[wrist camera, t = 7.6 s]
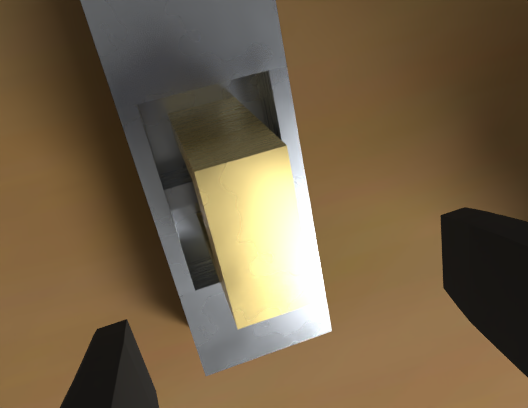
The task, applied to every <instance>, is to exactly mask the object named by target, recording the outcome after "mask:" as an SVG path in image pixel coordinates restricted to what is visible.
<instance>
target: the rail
mask: <svg viewBox="0 0 528 408" xmlns="http://www.w3.org/2000/svg"><path fill="white" fill-rule="evenodd" d="M80 1H81V4H82V7H83V10H84V13H85V16H86V19H87V22H88V25H89V28H90V31H91V34H92V37H93V40H94V43H95V46H96V49H97V52H98V55H99V58H100V61H101V64H102V67H103V70H104V73H105V76H106V79H107V82H108V85H109V88H110V91H111V94H112V97H113V100H114V103H115V106H116V109H117V112H118V115H119V118H120V121H121V124H122V127H123V130H124V133H125V136H126V139H127V142H128V145H129V148H130V151H131V154H132V157H133V160H134V163H135V166H136V169H137V172H138V174H139V177H140V180H141V183H142V186H143V189H144V192H145V195H146V198H147V201H148V204H149V207H150V210H151V213H152V216H153V219H154V222H155V225H156V228H157V231H158V234H159V237H160V240H161V243H162V246H163V249H164V252H165V255H166V258H167V261H168V264H169V267H170V270H171V273H172V276H173V279H174V282H175V285H176V288H177V291H178V294H179V297H180V300H181V303H182V306H183V309H184V312H185V315H186V318H187V321H188V324H189V327H190V330H191V333H192V336H193V339H194V342H195V345H196V348H197V351H198V354H199V357H200V360H201V363H202V366H203V369H204V372H205V375H206V376H208V375H211V374H213V373H216V372H219V371H222V370H225V369H227V368H230V367H233V366H236V365H238V364H241V363H244V362H247V361H250V360H252V359H255V358H258V357H261V356H264V355H266V354H269V353H272V352H275V351H277V350H280V349H283V348H286V347H289V346H291V345H294V344H297V343H300V342H303V341H305V340H308V339H311V338H314V337H316V336H319V335H322V334H325V333H328V332H330V331H332V330H331V324H330V318H329V312H328V306H327V300H326V294H325V288H324V283H323V277H322V271H321V265H320V259H319V253H318V247H317V241H316V235H315V230H314V224H313V218H312V212H311V206H310V200H309V194H308V188H307V183H306V177H305V171H304V165H303V159H302V153H301V147H300V141H299V136H298V130H297V124H296V118H295V112H294V106H293V100H292V94H291V88H290V83H289V77H288V71H287V65H286V59H285V53H284V47H283V41H282V36H281V30H280V24H279V18H278V12H277V6H276V0H80ZM233 96H234V97H235V98H236V99H237V100H238V101H239V102H240V103H242V104H243V105H244V106H245V107H246V108H247V109H248V110H249V111H250V112H251V113H252V114H253V115H255V116H256V117H257V118H258V119H259V120H260V121H261V122H262V123H263V124H264V125H265V126H266V127H268V128H269V129H270V130H271V131H272V132H273V133H274V134H275V135H276V136H277V137H278V138H279V139H281V140H282V141H283V142H284V143H285V144H286V145H287V149H288V154H289V160H290V165H291V171H292V176H293V182H294V187H295V193H296V198H297V204H298V209H299V215H300V220H301V226H302V232H303V237H304V243H305V248H306V254H307V259H308V265H309V270H310V276H311V281H312V287H313V292H314V298H315V303H313V304H310V305H307V306H304V307H302V308H299V309H296V310H293V311H290V312H287V313H284V314H281V315H278V316H276V317H273V318H270V319H267V320H264V321H261V322H258V323H255V324H252V325H249V326H247V327H244V328H241V329H237V326H236V324H235V321H234V318H233V316H232V313H231V310H230V308H229V305H228V302H227V300H226V297H225V294H224V292H223V289H222V286H221V284H220V281H219V278H218V276H217V273H216V270H215V268H214V265H213V262H212V260H211V257H210V254H209V252H208V249H207V246H206V244H205V241H204V238H203V235H202V232H201V228H200V225H199V222H198V218H197V215H196V214H197V213H200V212H201V210H200V206H199V202H198V199H197V195H196V192H195V188H194V185H193V181H192V178H191V176H190V174H189V171H188V169H187V167H186V164H185V162H184V160H183V157H182V155H181V153H180V150H179V148H178V146H177V143H176V141H175V138H174V134H173V131H172V127H171V124H170V120H169V117H168V114H169V113H173V112H176V111H180V110H184V109H188V108H191V107H195V106H199V105H203V104H207V103H210V102H214V101H218V100H222V99H225V98H229V97H233Z"/></svg>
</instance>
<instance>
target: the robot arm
mask: <svg viewBox="0 0 528 408" xmlns="http://www.w3.org/2000/svg"><path fill="white" fill-rule="evenodd" d="M441 236H442V262H443V287H444V289H445V290H446V292H447V293H448V294H449V296H450V297H451V298H452V300H453V301H454V302H455V304H456V305H457V306H458V308H459V309H460V310H461V311H462V312H463V314H464V315H465V316H466V317H467V318H468V320H469V321H470V322H471V323H472V324H473V325H474V326H475V327H476V328H477V329H478V330H479V331H480V332H481V333H482V334H483V335H484V336H485V337H486V338H487V339H488V340H489V341H490V342H491V343H492V344H493V345H494V346H495V347H496V348H497V349H498V350H500V351H501V352H502V353H503V354H504V355H505V356H506V357H507V358H508V359H509V360H510V361H511V362H512V363H513V364H514V365H515V366H516V367H517V368H518V369H519V370H521V371H522V372H523V373H524V374H525V375H526V376H527V377H528V222H526V221H522V220H518V219H514V218H511V217H507V216H503V215H499V214H494V213H490V212H486V211H481V210H476V209H471V208H461V209H458V210H455V211H452V212H449V213H446V214H443V215H441ZM60 408H159V405H158V400H157V394H156V390H155V387H154V385H153V383H152V380H151V378H150V375H149V373H148V370H147V368H146V365H145V363H144V360H143V358H142V355H141V353H140V350H139V348H138V345H137V343H136V340H135V338H134V335H133V333H132V331H131V328H130V326H129V323H128V321H127V319H126V320H123V321H120V322H117V323H114V324H111V325H108V326H105V327H102V328H99V329H97V330H96V332H95V334H94V335H93V338H92V340H91V342H90V344H89V347H88V349H87V351H86V354H85V356H84V358H83V360H82V363H81V365H80V367H79V369H78V371H77V374H76V376H75V378H74V380H73V382H72V384H71V386H70V388H69V390H68V392H67V394H66V396H65V398H64V400H63V402H62V404H61V406H60Z"/></svg>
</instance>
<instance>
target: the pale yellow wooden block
mask: <svg viewBox="0 0 528 408" xmlns="http://www.w3.org/2000/svg"><path fill="white" fill-rule="evenodd" d="M168 117H169V120H170V124H171V127H172V131H173V134H174V138H175V141H176V143H177V146H178V148H179V150H180V153H181V155H182V157H183V160H184V162H185V164H186V167H187V169H188V171H189V174H190V176H191V178H192V181H193V185H194V188H195V192H196V195H197V199H198V202H199V206H200V210H201V212H200V213H197V214H196V215H197V218H198V222H199V225H200V228H201V232H202V235H203V238H204V241H205V244H206V246H207V249H208V252H209V254H210V257H211V260H212V262H213V265H214V268H215V270H216V273H217V276H218V278H219V281H220V284H221V286H222V289H223V292H224V294H225V297H226V300H227V302H228V305H229V308H230V310H231V313H232V316H233V318H234V321H235V324H236V326H237V329H241V328H244V327H247V326H249V325H252V324H255V323H258V322H261V321H264V320H267V319H270V318H273V317H276V316H278V315H281V314H284V313H287V312H290V311H293V310H296V309H299V308H302V307H304V306H307V305H310V304H313V303H315V298H314V292H313V287H312V281H311V276H310V270H309V265H308V259H307V254H306V248H305V243H304V237H303V232H302V226H301V220H300V215H299V209H298V204H297V198H296V193H295V187H294V182H293V176H292V171H291V165H290V160H289V154H288V149H287V145H286V144H285V143H284V142H283V141H282V140H281V139H279V138H278V137H277V136H276V135H275V134H274V133H273V132H272V131H271V130H270V129H269V128H268V127H266V126H265V125H264V124H263V123H262V122H261V121H260V120H259V119H258V118H257V117H256V116H255V115H253V114H252V113H251V112H250V111H249V110H248V109H247V108H246V107H245V106H244V105H243V104H242V103H240V102H239V101H238V100H237V99H236V98H235V97H234V96H233V97H229V98H225V99H222V100H218V101H214V102H210V103H207V104H203V105H199V106H195V107H191V108H188V109H184V110H180V111H176V112H173V113H169V114H168Z"/></svg>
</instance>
